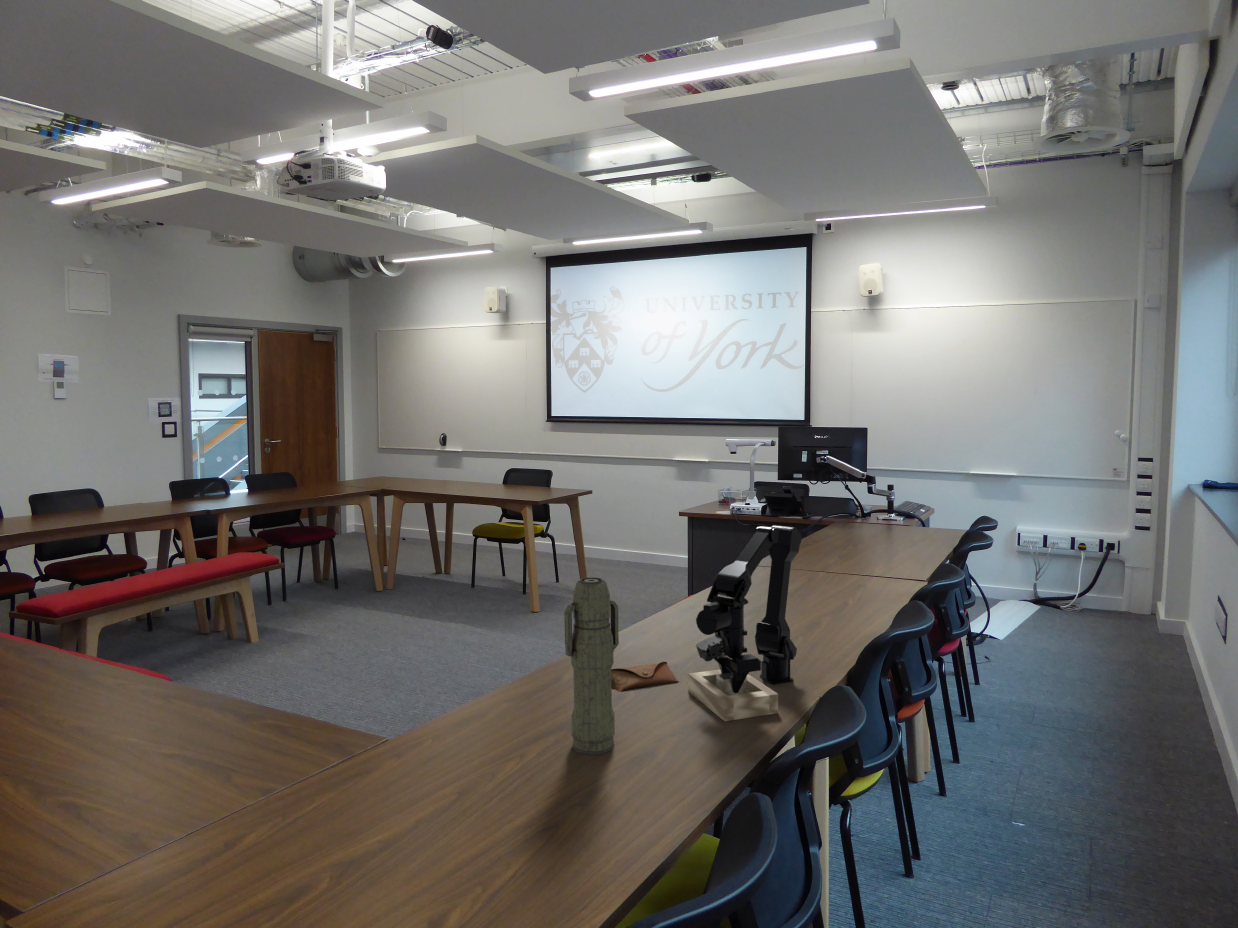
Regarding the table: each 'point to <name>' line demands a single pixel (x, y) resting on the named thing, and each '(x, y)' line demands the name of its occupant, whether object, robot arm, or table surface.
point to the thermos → (592, 664)
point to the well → (733, 697)
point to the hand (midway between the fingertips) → (731, 689)
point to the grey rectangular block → (729, 684)
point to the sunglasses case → (641, 676)
